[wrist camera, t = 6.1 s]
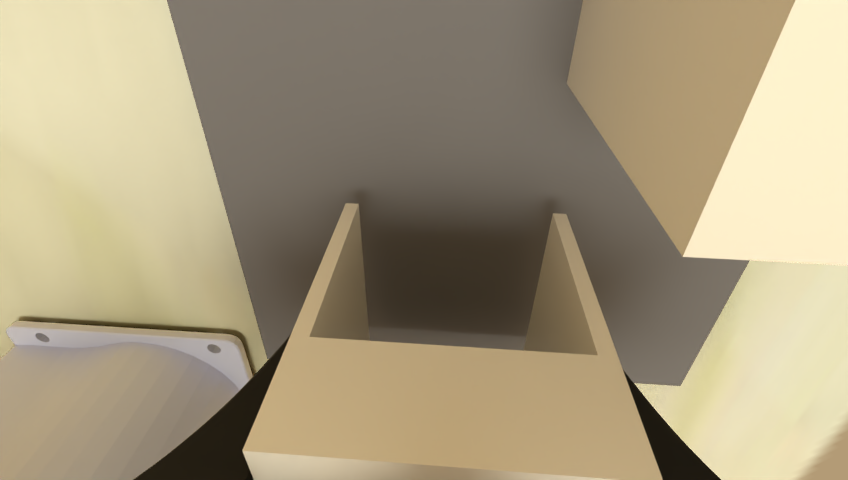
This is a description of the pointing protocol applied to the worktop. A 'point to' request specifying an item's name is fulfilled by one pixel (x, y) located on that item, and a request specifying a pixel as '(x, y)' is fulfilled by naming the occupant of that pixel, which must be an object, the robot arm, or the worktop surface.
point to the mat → (432, 171)
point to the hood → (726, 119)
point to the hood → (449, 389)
